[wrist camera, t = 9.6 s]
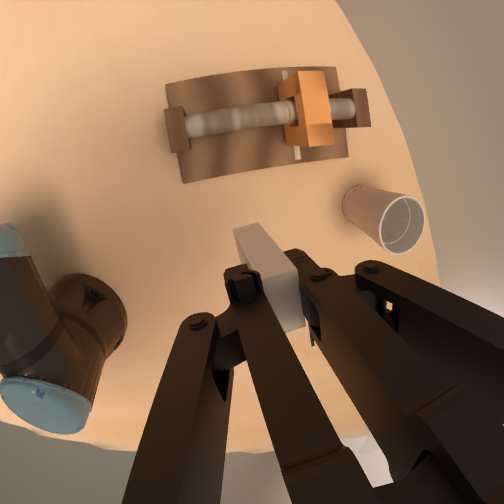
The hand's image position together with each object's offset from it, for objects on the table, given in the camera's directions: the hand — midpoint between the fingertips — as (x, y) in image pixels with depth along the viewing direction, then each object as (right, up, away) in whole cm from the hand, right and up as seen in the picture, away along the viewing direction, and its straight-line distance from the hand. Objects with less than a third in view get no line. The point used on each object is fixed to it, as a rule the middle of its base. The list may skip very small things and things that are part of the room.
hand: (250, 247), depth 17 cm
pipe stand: (+1, +18, +20) cm, 27 cm away
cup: (+17, +7, +28) cm, 33 cm away
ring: (+5, +18, +18) cm, 26 cm away
